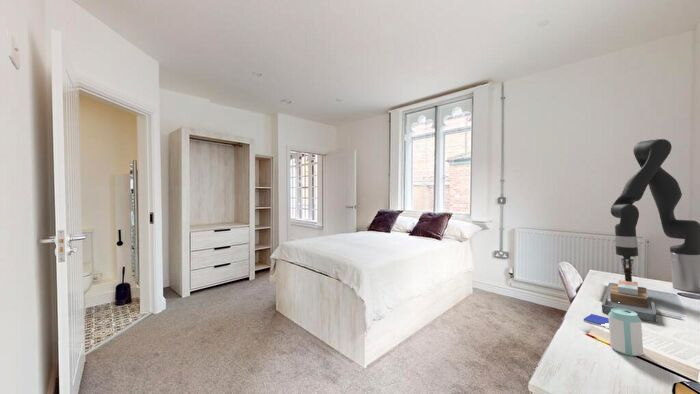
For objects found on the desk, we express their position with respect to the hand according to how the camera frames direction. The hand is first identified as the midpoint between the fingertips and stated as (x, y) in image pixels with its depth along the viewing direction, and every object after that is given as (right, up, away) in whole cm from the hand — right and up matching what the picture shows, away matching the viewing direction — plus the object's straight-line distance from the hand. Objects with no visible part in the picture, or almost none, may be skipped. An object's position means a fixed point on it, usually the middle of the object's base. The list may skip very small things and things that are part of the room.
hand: (628, 281), depth 129 cm
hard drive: (-38, -7, -30) cm, 49 cm away
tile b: (-11, -2, -10) cm, 15 cm away
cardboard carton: (-8, -5, -8) cm, 13 cm away
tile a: (-6, -1, -6) cm, 8 cm away
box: (-21, -6, -20) cm, 29 cm away
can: (-49, -7, -47) cm, 68 cm away
